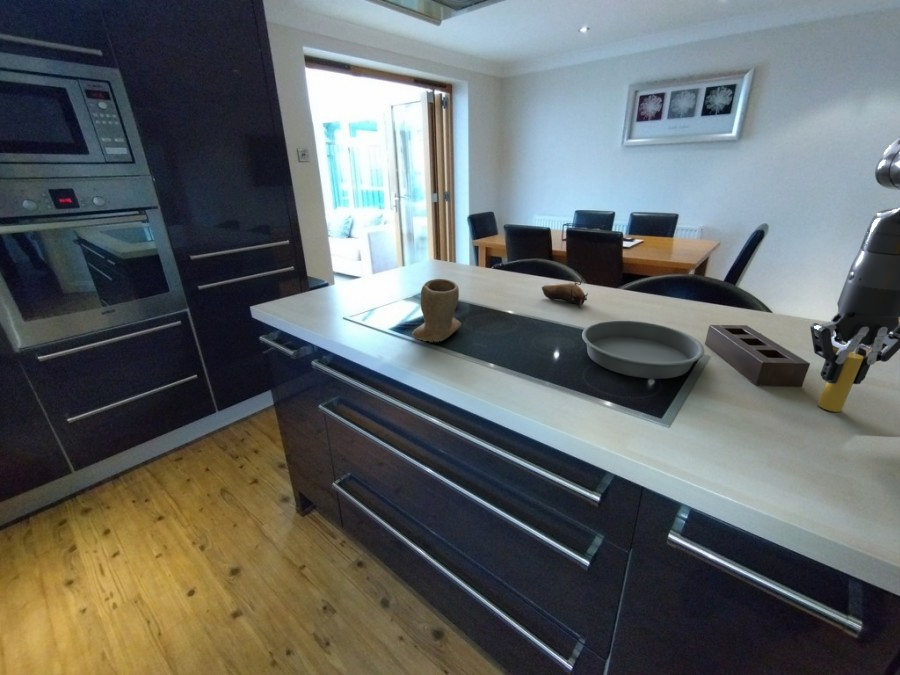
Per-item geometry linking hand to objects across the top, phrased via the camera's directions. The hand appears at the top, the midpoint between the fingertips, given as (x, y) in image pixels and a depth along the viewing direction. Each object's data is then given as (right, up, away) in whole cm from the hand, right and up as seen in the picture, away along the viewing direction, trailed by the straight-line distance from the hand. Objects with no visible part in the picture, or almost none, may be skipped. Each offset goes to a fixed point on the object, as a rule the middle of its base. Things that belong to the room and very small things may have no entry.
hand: (840, 381), depth 65 cm
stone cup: (-68, +8, +39) cm, 79 cm away
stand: (-1, +2, +19) cm, 19 cm away
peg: (0, -5, +2) cm, 5 cm away
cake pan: (-23, +3, +23) cm, 33 cm away
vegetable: (-29, +19, +62) cm, 71 cm away
